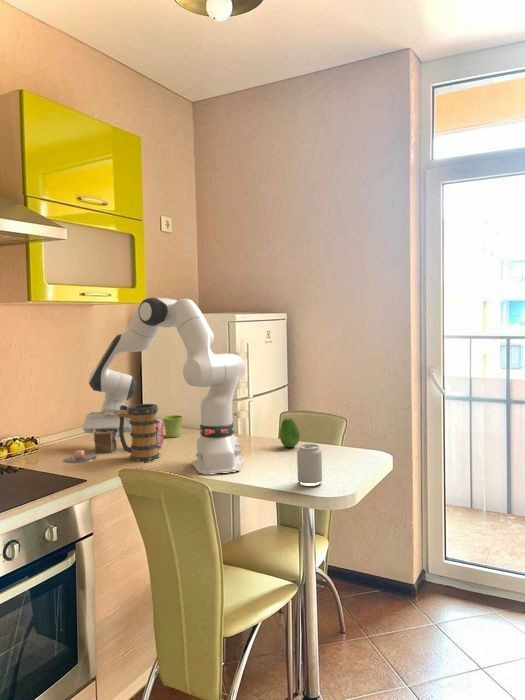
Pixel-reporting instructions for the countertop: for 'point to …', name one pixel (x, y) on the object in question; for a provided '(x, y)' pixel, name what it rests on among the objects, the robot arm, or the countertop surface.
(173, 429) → the plant pot
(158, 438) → the soda can
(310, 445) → the can
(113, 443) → the cover box
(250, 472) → the countertop surface
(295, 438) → the avocado
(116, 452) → the mat
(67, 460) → the slate board
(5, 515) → the countertop surface
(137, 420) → the mug
